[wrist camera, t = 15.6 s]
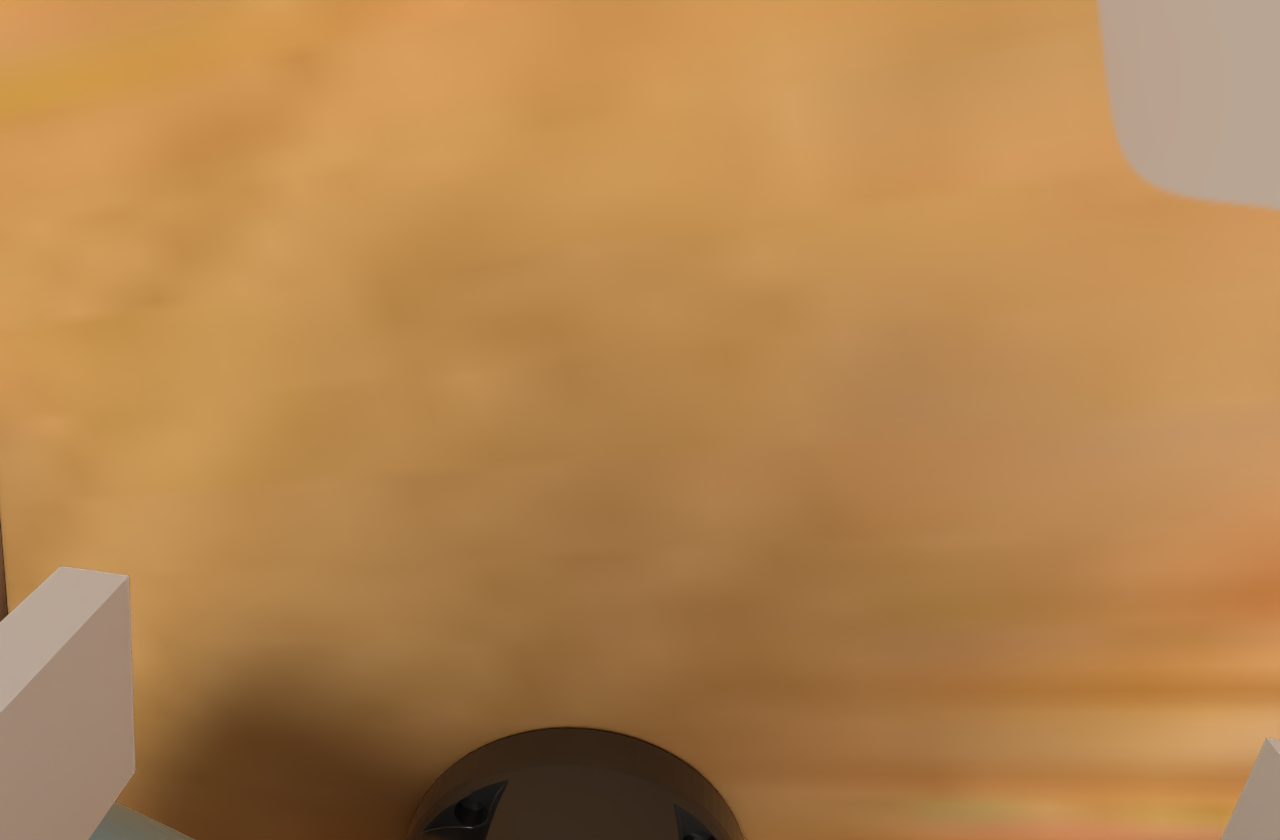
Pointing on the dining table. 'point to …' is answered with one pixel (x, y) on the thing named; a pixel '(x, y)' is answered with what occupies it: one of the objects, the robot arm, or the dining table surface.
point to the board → (2, 586)
